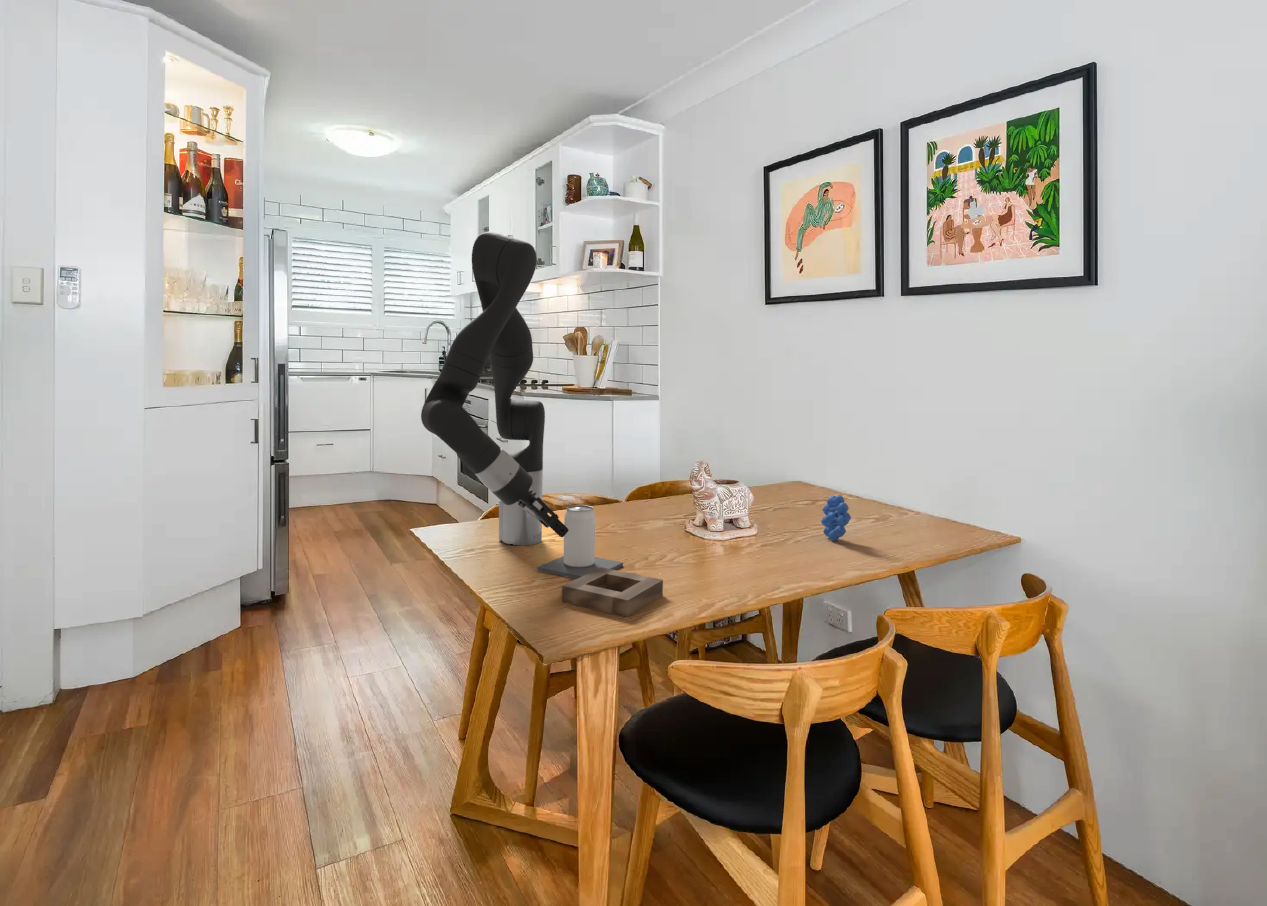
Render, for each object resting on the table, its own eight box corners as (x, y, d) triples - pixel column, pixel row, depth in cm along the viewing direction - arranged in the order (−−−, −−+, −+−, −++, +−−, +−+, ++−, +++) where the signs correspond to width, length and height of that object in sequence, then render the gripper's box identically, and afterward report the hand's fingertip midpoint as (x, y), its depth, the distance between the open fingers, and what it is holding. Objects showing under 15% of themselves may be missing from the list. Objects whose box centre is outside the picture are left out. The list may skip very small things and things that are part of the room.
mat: (536, 570, 149) (536, 566, 149) (571, 555, 160) (572, 552, 160) (590, 582, 143) (590, 578, 143) (622, 566, 154) (623, 562, 154)
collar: (561, 601, 131) (562, 585, 131) (601, 581, 143) (601, 567, 143) (627, 616, 125) (627, 600, 125) (662, 594, 137) (663, 579, 136)
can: (576, 557, 156) (577, 503, 155) (600, 563, 153) (601, 507, 151) (557, 564, 151) (558, 508, 149) (581, 570, 148) (582, 512, 146)
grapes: (860, 547, 176) (864, 498, 175) (834, 547, 175) (838, 498, 173) (839, 534, 188) (842, 489, 186) (814, 535, 186) (817, 489, 185)
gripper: (528, 467, 136) (583, 523, 142) (506, 457, 148) (557, 508, 155) (500, 497, 134) (557, 551, 141) (480, 483, 147) (533, 534, 153)
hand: (557, 528), depth 148 cm, fingers open, 8 cm apart
